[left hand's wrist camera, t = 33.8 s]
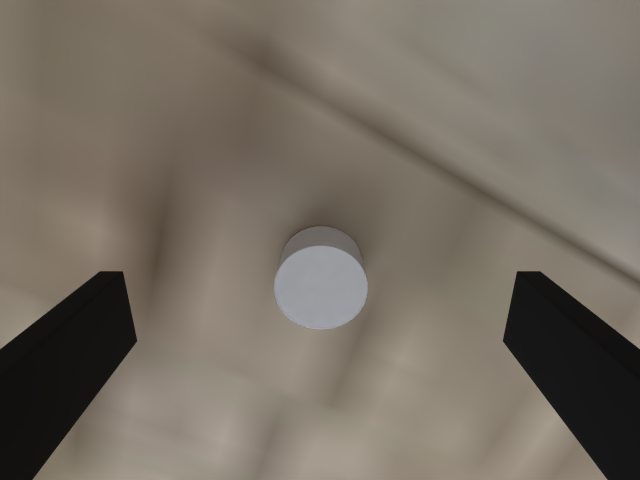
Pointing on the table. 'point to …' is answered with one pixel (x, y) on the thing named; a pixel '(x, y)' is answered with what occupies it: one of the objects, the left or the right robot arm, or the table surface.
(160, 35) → the table surface
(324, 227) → the cap
